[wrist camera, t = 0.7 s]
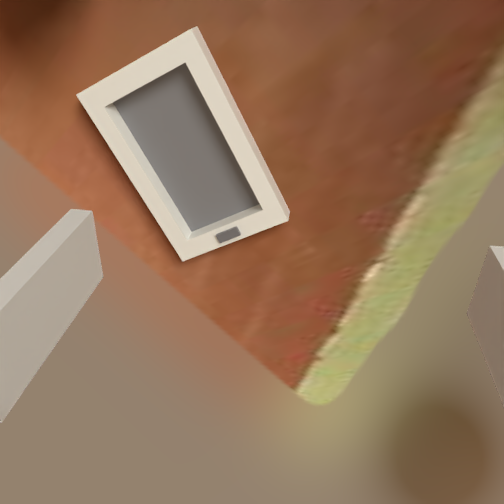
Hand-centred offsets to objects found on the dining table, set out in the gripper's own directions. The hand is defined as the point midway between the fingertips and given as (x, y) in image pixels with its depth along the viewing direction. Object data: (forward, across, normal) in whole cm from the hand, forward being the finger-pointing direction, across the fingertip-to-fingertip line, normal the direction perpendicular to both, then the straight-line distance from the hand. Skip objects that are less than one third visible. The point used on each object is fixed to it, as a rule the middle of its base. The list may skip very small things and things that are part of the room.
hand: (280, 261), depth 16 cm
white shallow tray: (+23, -9, -5) cm, 25 cm away
